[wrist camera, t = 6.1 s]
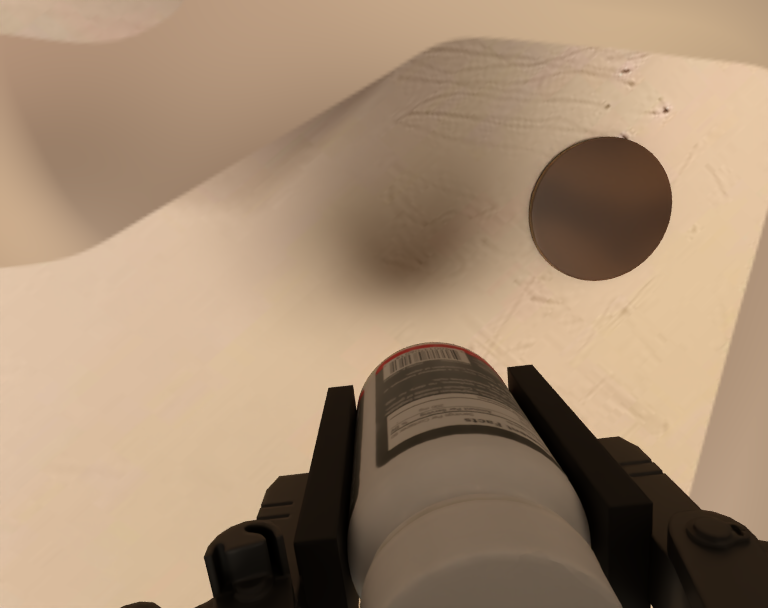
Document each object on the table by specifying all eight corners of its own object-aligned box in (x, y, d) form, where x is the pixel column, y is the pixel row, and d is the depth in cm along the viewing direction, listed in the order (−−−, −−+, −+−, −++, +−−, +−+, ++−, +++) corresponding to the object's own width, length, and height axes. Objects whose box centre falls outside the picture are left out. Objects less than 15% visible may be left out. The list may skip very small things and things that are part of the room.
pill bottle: (451, 499, 16) (533, 831, 8) (328, 432, 15) (276, 718, 7) (537, 387, 15) (731, 628, 7) (410, 309, 14) (457, 476, 6)
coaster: (524, 148, 27) (527, 147, 26) (668, 128, 27) (673, 127, 26) (532, 287, 29) (535, 289, 28) (666, 270, 28) (671, 271, 28)
